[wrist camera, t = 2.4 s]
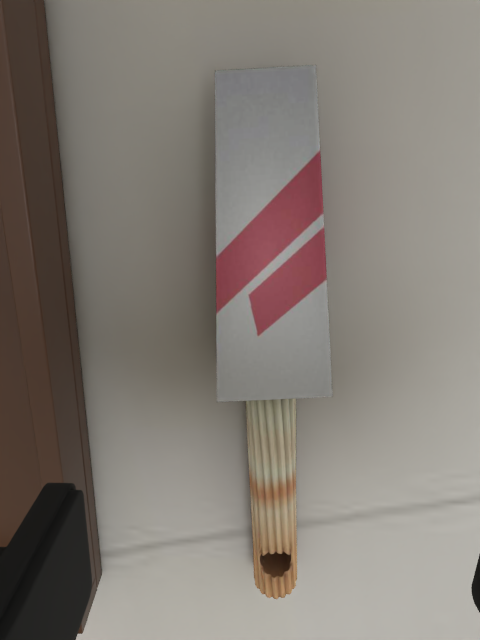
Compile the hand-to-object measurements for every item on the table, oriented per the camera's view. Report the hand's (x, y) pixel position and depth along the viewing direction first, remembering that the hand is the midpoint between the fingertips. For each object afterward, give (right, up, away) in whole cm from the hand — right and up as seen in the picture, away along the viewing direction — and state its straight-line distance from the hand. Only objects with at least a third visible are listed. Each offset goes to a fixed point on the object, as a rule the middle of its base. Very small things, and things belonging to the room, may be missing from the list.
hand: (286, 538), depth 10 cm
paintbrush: (0, +3, +7) cm, 8 cm away
